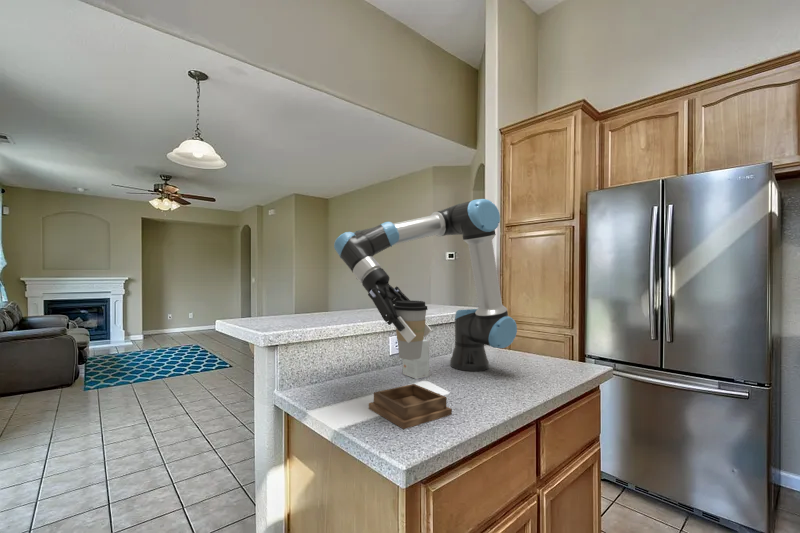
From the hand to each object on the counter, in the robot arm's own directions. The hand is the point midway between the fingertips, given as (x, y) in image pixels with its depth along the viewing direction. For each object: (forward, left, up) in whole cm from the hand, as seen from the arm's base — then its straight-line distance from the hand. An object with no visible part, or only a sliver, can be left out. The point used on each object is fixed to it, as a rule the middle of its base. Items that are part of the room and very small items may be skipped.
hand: (420, 336), depth 98 cm
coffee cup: (+1, -3, -6) cm, 7 cm away
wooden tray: (+1, -3, -21) cm, 21 cm away
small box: (-22, -29, -21) cm, 42 cm away
